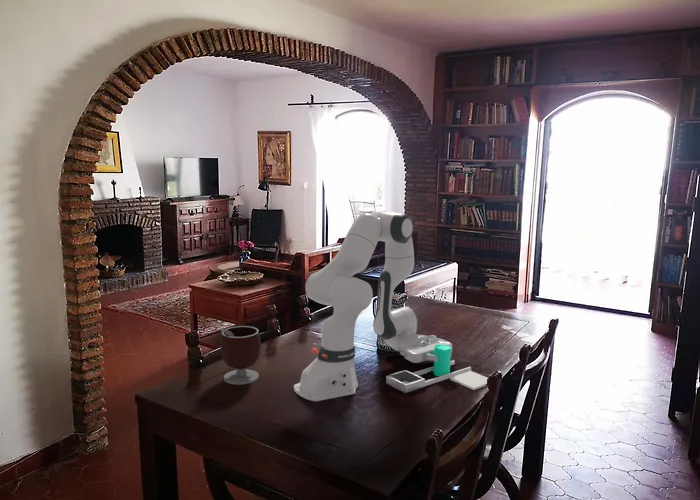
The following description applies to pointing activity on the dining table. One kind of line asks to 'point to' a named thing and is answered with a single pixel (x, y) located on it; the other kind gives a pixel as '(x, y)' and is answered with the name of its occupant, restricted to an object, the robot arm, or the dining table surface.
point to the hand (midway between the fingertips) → (444, 357)
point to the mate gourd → (240, 353)
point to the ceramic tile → (470, 380)
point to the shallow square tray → (405, 381)
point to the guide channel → (443, 375)
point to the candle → (442, 360)
